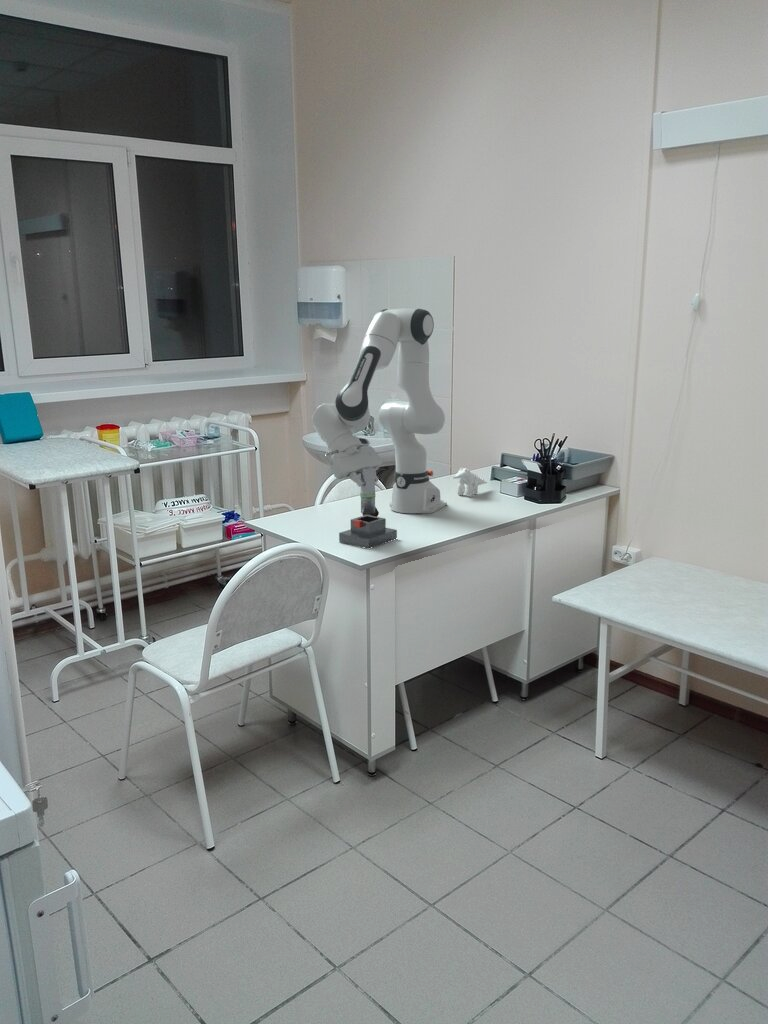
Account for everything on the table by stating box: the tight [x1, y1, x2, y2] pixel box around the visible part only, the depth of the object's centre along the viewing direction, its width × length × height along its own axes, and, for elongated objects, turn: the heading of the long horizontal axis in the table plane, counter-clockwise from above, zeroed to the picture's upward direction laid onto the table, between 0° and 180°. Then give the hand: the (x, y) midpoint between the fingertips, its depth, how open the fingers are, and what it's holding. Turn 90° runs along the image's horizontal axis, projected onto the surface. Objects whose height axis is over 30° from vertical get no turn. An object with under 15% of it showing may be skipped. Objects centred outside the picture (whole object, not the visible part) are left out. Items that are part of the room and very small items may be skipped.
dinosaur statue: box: [452, 467, 488, 497], centre depth 319 cm, size 7×24×11 cm, turn 139°
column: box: [359, 467, 376, 515], centre depth 254 cm, size 5×5×14 cm
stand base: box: [338, 515, 398, 549], centre depth 257 cm, size 14×12×8 cm
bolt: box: [361, 506, 380, 517], centre depth 276 cm, size 6×5×15 cm
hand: (369, 483), depth 253 cm, fingers open, 5 cm apart
